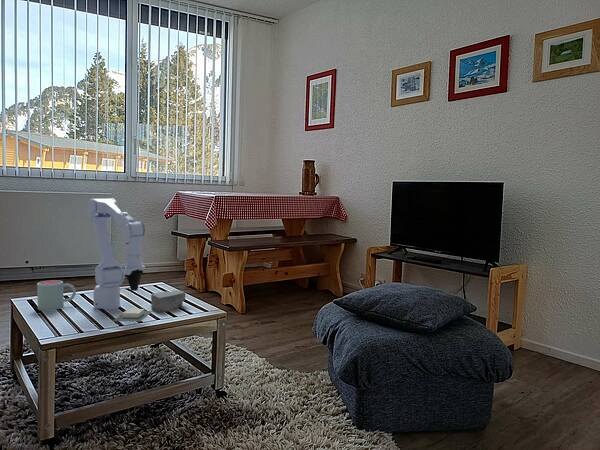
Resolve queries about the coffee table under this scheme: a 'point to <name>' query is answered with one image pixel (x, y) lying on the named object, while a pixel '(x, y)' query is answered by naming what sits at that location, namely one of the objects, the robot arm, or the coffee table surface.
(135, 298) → the coffee table surface
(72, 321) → the coffee table surface
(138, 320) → the mat
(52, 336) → the coffee table surface
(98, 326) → the coffee table surface
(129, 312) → the tile
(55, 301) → the mug
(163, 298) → the decorative stone
